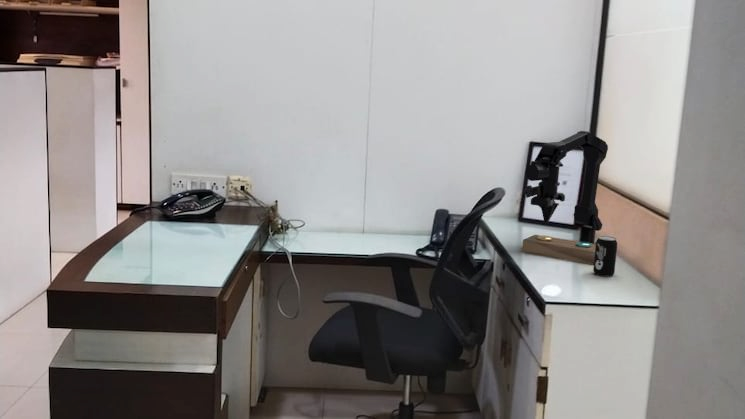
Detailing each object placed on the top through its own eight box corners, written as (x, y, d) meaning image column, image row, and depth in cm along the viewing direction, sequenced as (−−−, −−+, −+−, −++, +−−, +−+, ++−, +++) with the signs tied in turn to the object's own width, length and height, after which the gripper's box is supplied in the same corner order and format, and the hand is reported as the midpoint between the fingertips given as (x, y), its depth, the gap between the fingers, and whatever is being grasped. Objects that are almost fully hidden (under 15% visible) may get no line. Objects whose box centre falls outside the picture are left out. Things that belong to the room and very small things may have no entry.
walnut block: (534, 246, 274) (535, 234, 274) (604, 258, 261) (605, 245, 260) (521, 252, 264) (522, 239, 264) (594, 264, 251) (595, 251, 250)
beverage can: (615, 277, 235) (619, 240, 233) (593, 275, 237) (597, 239, 235) (612, 272, 242) (616, 236, 240) (592, 270, 243) (595, 234, 241)
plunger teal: (577, 255, 262) (579, 240, 261) (591, 257, 260) (593, 243, 259) (573, 257, 258) (574, 243, 257) (587, 260, 255) (588, 245, 254)
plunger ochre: (539, 248, 270) (541, 234, 269) (553, 251, 267) (554, 237, 266) (534, 251, 265) (536, 237, 265) (548, 253, 263) (549, 239, 262)
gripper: (537, 174, 273) (534, 216, 276) (518, 179, 258) (514, 223, 261) (567, 178, 268) (563, 220, 270) (549, 183, 252) (545, 227, 255)
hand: (546, 222), depth 264 cm, fingers closed
